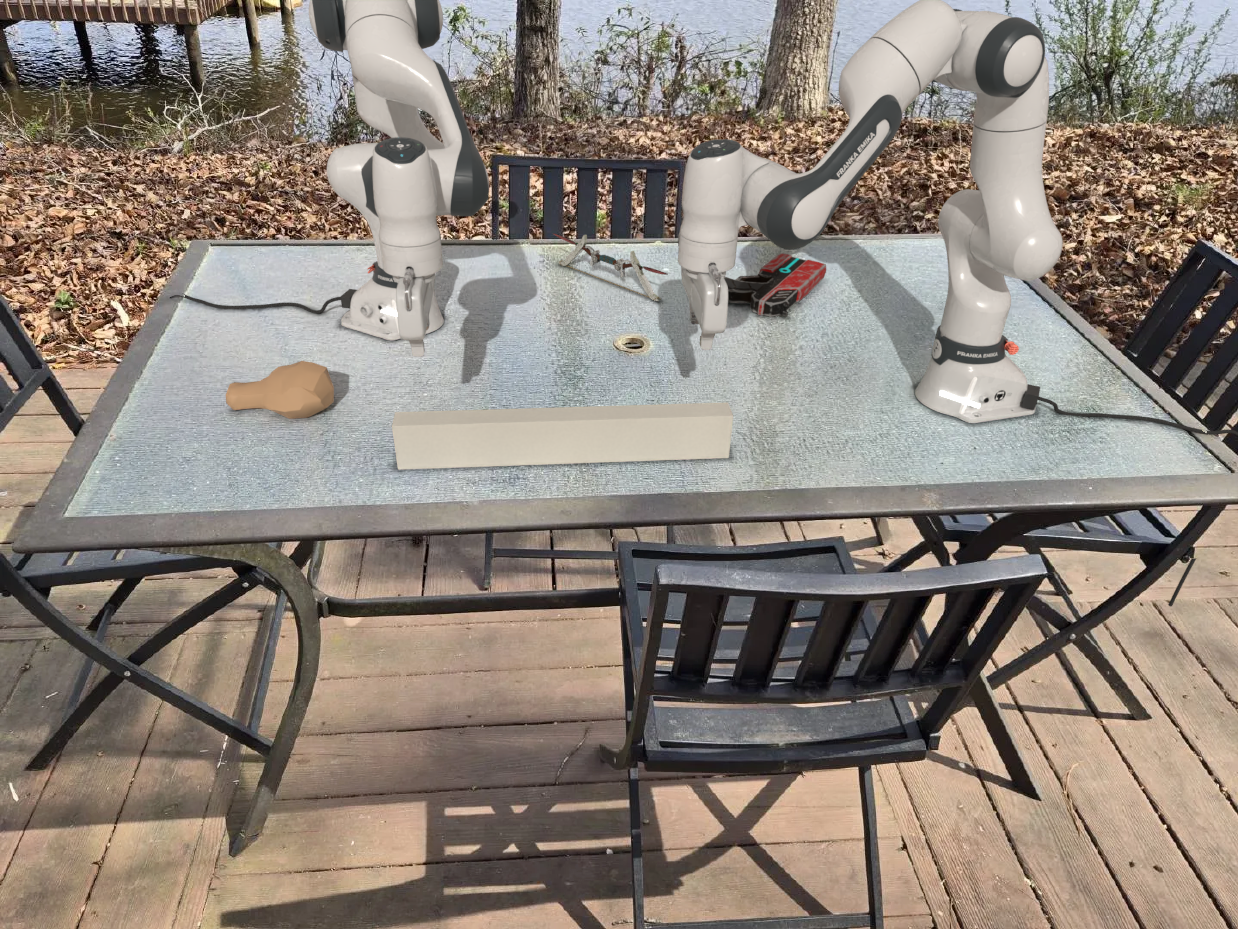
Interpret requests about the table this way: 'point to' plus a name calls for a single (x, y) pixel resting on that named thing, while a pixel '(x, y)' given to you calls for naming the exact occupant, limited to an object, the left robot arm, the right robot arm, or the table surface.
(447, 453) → the beam
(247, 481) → the table surface
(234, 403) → the squash
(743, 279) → the gun
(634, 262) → the bow
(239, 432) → the table surface
